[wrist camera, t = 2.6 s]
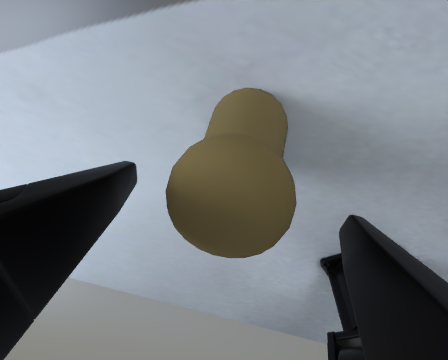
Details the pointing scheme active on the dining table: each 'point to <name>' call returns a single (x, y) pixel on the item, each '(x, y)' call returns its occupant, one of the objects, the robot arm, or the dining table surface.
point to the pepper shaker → (235, 179)
